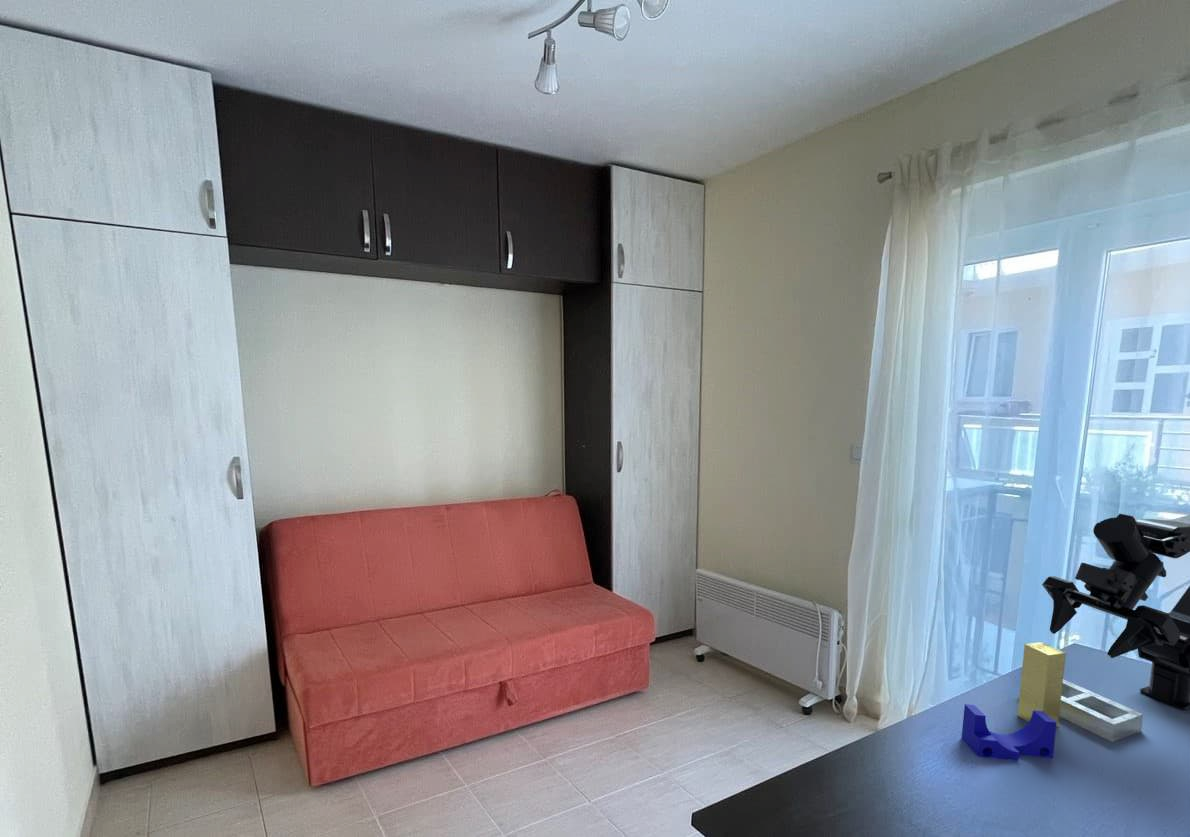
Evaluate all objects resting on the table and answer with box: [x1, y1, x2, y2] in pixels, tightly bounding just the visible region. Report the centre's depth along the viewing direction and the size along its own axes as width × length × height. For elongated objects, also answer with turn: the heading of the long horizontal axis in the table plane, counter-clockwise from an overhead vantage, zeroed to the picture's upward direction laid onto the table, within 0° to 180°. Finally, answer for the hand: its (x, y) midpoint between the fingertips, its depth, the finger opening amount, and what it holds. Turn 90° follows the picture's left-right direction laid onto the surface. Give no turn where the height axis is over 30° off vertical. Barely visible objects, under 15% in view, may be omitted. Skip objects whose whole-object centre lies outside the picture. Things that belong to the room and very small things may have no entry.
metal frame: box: [1059, 678, 1144, 743], centre depth 101 cm, size 9×14×3 cm, turn 23°
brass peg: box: [1017, 642, 1067, 728], centre depth 98 cm, size 4×4×13 cm
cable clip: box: [961, 703, 1057, 761], centre depth 89 cm, size 12×4×6 cm, turn 85°
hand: (1079, 643), depth 99 cm, fingers open, 9 cm apart
